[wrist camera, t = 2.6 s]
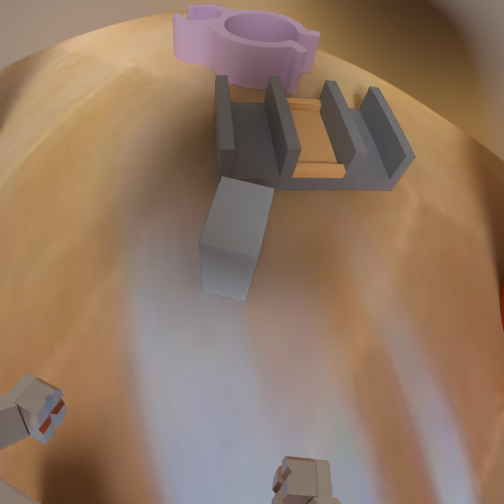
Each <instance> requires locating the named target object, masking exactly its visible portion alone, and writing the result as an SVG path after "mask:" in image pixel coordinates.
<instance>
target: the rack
mask: <svg viewBox="0 0 504 504" xmlns="http://www.w3.org/2000/svg"><path fill="white" fill-rule="evenodd" d="M214 120H215V138H216V155H217V171H218V186H219V183H220V180H221V177H222V176H223V177H228V178H232V179H236V180H241V181H245V182H249V183H253V184H257V185H262V186H266V187H270V188H274V189H275V190H383V191H391V190H392V189H393V187H394V186H395V185H396V183H397V182H398V181H399V179H400V178H401V177H402V175H403V174H404V172H405V171H406V170H407V168H408V167H409V166H410V164H411V163H412V161H413V160H414V159H415V155H414V153H413V151H412V149H411V147H410V144H409V142H408V140H407V138H406V137H405V135H404V133H403V131H402V129H401V127H400V125H399V123H398V121H397V119H396V117H395V116H394V114H393V112H392V110H391V108H390V107H389V105H388V103H387V101H386V100H385V98H384V96H383V94H382V93H381V91H380V89H379V88H377V87H371V86H370V87H369V89H368V92H367V94H366V96H365V98H364V100H363V103H362V105H361V107H360V109H359V110H355V109H349V108H348V106H347V104H346V101H345V99H344V97H343V95H342V93H341V91H340V89H339V87H338V85H337V83H336V81H328V80H326V81H325V84H324V87H323V90H322V93H321V96H320V99H319V100H316V99H303V98H287V97H286V94H285V90H284V87H283V84H282V81H281V78H280V76H269V79H268V85H267V90H266V96H265V101H264V103H230V95H229V86H228V77H227V75H216V81H215V109H214Z"/></svg>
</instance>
